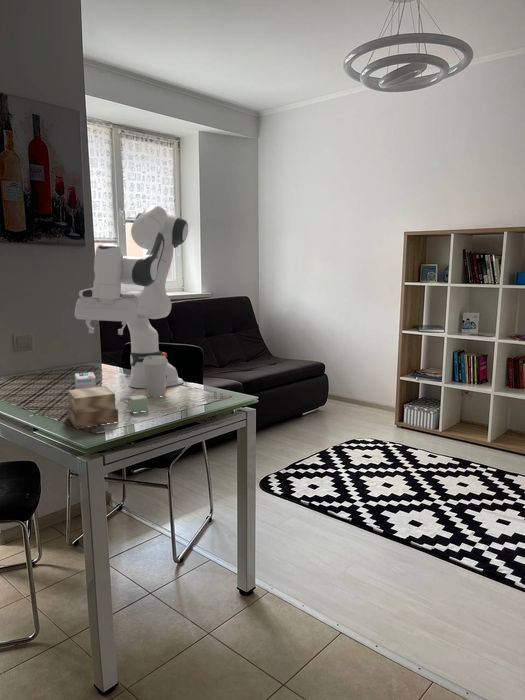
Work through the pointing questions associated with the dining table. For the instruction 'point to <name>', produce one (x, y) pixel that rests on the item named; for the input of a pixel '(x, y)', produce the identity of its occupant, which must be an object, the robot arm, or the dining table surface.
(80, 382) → the light bulb box
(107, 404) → the oak top block
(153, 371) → the coffee cup
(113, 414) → the walnut base block
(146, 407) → the sage block
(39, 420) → the dining table surface
